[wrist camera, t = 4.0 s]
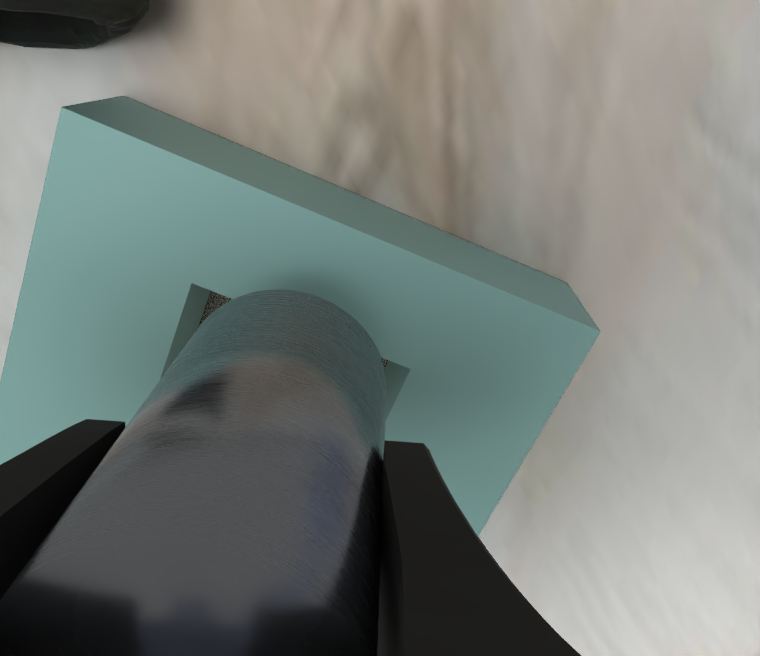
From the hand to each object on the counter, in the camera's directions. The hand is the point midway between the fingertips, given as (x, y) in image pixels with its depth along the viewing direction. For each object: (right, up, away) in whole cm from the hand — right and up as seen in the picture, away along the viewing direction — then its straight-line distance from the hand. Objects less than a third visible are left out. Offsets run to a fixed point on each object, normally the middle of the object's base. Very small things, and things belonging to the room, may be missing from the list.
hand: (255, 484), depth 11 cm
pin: (0, +1, +3) cm, 3 cm away
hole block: (-1, +1, +10) cm, 10 cm away
